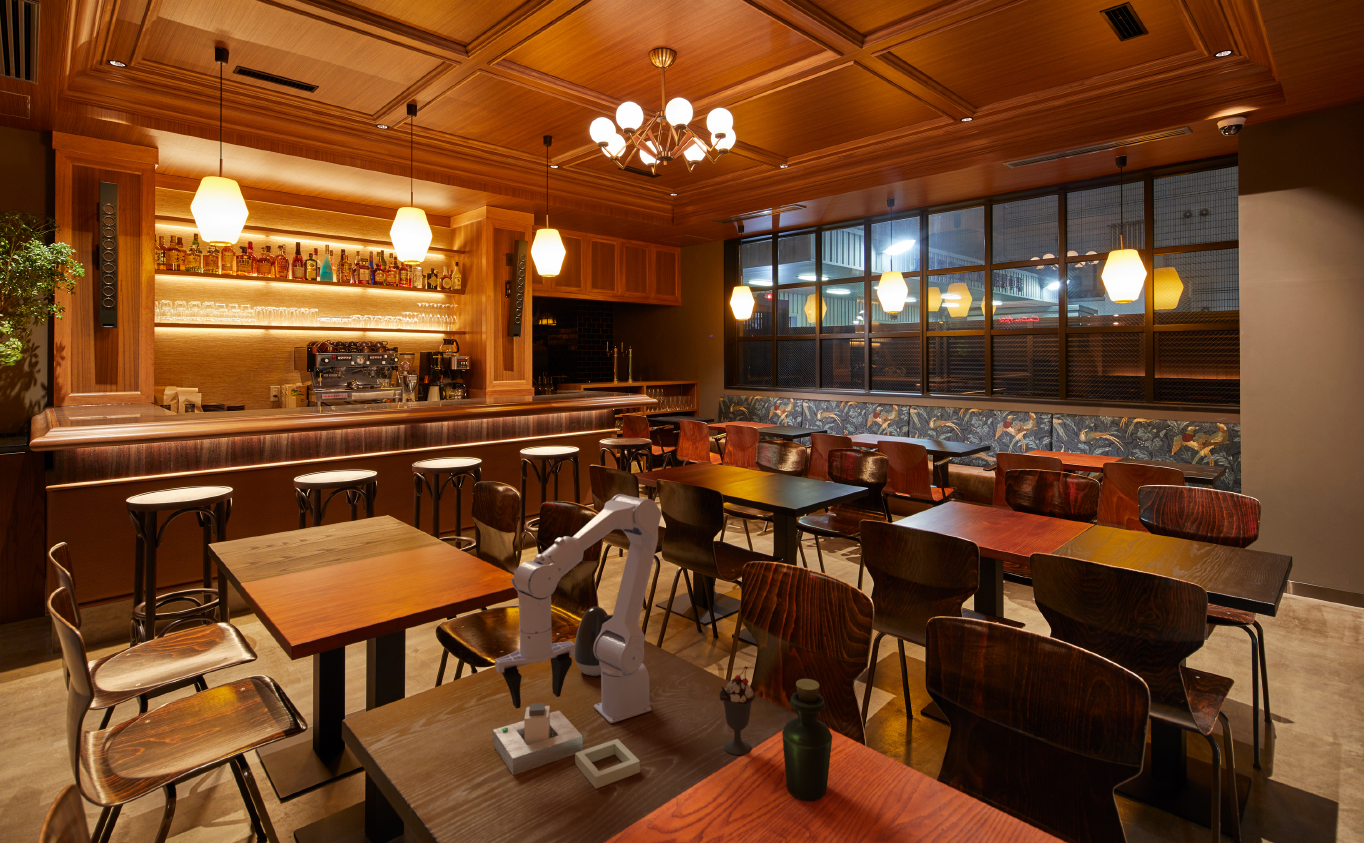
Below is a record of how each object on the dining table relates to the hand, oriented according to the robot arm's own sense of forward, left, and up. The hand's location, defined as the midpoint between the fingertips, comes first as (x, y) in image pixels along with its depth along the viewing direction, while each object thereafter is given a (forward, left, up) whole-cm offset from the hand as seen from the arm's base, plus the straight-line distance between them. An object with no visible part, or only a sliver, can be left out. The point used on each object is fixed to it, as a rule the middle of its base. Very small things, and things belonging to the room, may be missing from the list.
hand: (536, 700), depth 121 cm
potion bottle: (-33, +36, -9) cm, 50 cm away
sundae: (-31, +20, -9) cm, 38 cm away
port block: (0, 0, -9) cm, 9 cm away
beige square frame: (-8, +13, -9) cm, 17 cm away
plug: (0, 0, -9) cm, 9 cm away
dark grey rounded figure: (-23, -23, -9) cm, 34 cm away
